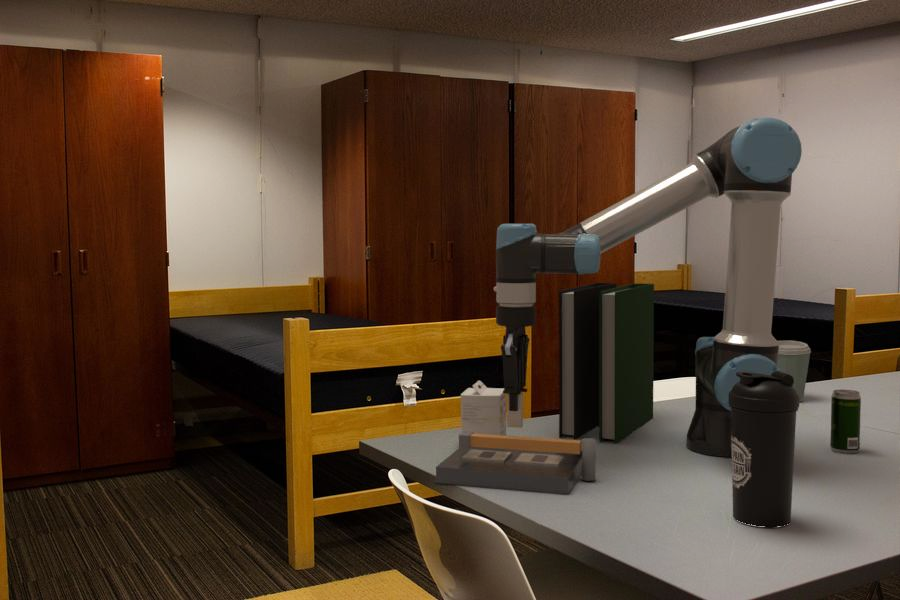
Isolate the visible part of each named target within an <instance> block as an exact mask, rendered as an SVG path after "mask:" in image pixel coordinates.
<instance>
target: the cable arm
mask: <svg viewBox="0 0 900 600" xmlns="http://www.w3.org/2000/svg"><path fill="white" fill-rule="evenodd" d="M470 447H484V448H498V449H512V450H527V451H541V452H556V453H570V454H580V453H581V451H582V473H581V480H582V481H587V482H591V481H595V480H596V439H595V438H593V437H584V438H582V439H581V440H578V439H576V440H574V439H563V438H548V437H531V436H517V435H516V436H515V435H506V436H503V435H488V434H474V432H469V431H463V432H462V433H460V434H458V449H459V448H470Z"/></svg>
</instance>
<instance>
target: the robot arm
mask: <svg viewBox="0 0 900 600" xmlns="http://www.w3.org/2000/svg"><path fill="white" fill-rule="evenodd" d="M801 158H802V142H801V140H800V136H799V135H798V133H797V132H796V130H794V128H793V127H792V126H791V125H790V124H789V123H787V122H785V121H783V120H782V119H779V118H774V117H761V118H758V117H757V118H752V119H750V120H748V121H746V122H744V123H743V124H742V125H739V126H736V127H734V128H732V129H730V131H728V132H727V133H726V134H724V135H723V136H722V137H720V138H719V139H718V140H716V141H715V142H713V143H712V144H711V145H709V146H707V148H704V149H703V150H701V151H700V152H698V153H696V154H694V155H693V156H692V159H691V161H690V163H688V164H686V165H684V166H683V167H681V168H679V169H677V170H675V171H672V172H671V173H670V174H668V175H666V176H664V177H662V178H660V179H658V180H657V181H655V182H653V183H651V184H650V185H647V186H646V187H644V188H641V189H640V190H638V191H637V192H634V193H633V194H631V195H629V196H627V197H625V198H624V199H622V200H620V201H618V202H616V203H614V204H612V205H610V206H609V207H607V208H605V209H603V210H601V211H600V212H598V213H596V214H594V215H592V216H590V217H588V218H586V219H585V220H583V221H581V222H579V223H577V224H576V225H574V226H572V227H570V228H568V229H566V230H564V231H562V232H559V233H548V234H547V233H538V231H537V226H536V224H534V223H502V224H500V225H499V226H498V227H497V230H496V243H495V244H496V247H495V265H496V266H495V269H496V270H495V271H496V272H495V274H496V284H495V285H496V286H494V287H493V291H494V292H496V295H495V297H496V301H495V302H497V303H498V304H499V305H497V306H496V307H495V323H496V324H497V326H500V327H505V334H504V335H503V337H502V339H503V340H502V341H503V343H502V344H501V345H500V352H501V355H502V369H503V370H502V372H503V374H502V375H503V386H504V387H503V388H504V391H503V393H504V394H507V395H506V398H507V399H506V428H515V429H516V428H517V429H522V427H523V426H524V424H523V423H524V418H523V417H524V415H523V414H524V393H528V388H525V387H526V385H527V367H528V353H529V350H528V349H529V345H530V338H529V336H528V334H526V333H527V332H526V331H527V330H526V328H527V327H532V326H535V324H536V312H537V311H536V306H534V304H536V302H537V284H536V283H537V281H536V280H537V279H536V277H537V274H541V275H542V274H562V275H565V274H566V275H567V274H568V275H570V274H572V275H573V274H574V275H575V274H576V275H580V276H582V275H585V274H589V275H590V274H597V273H598V272H599V270H600V267H601V254H602V253H604V252H607V251H608V250H610V249H612V248H614V247H616V246H618V245H619V244H622V243H623V242H625V241H627V240H630V239H631V238H634V237H635V236H637V235H639V234H641V233H643V232H645V231H646V230H648V229H650V228H652V227H654V226H656V225H657V224H660V223H661V222H663V221H665V220H667V219H669V218H671V217H672V216H674V215H676V214H678V213H680V212H682V211H684V210H685V209H688V208H690V207H692V206H694V205H695V204H697V203H699V202H701V201H703V200H704V199H707V198H709V197H711V198H715V199H716V198H719V197H721V196H723V195H725V196H726V197H727V198H728V199H729V200H730V202H731V206H730V207H731V209H730V221H729V222H730V223H729V235H728V237H729V239H728V250H727V251H728V253H727V262H726V263H727V265H726V277H725V278H726V279H725V292H724V293H725V294H724V307H723V320H722V329H721V331H720V332H719V333H717V334H716V335H715V336H702V337H699V338H698V339H697V341H696V346H695V350H694V354H695V408H694V409H695V410H694V412H693V416H692V418H691V421H690V424H689V426H688V430H687V432H686V438H685V439H686V440H685V443H686V444H685V445H686V447H687V448H688V449H689V450H691V451H693V452H696V453H699V454H703V455H709V456H717V457H727V458H729V457H731V458H732V452H731V451H732V450H731V436H732V432H731V407H730V406H729V392H730V391H731V390H732V388H733V386H734V385H735V384H736V383H737V382H739V381H740V377H738V376H736V373H737V372H752V373H759V374H765V375H771V374H772V373H773V372H774V371H781V370H780V369H779V367H778V365H777V364H778V350H779V342H778V341H779V340H777V339H776V338H775V337H774V336H773V334H772V325H773V315H774V314H773V313H774V312H773V311H774V310H773V309H774V298H775V287H776V286H775V284H776V271H777V260H778V259H777V258H778V248H779V247H778V246H779V245H778V244H779V233H780V219H781V205H782V203H783V202H784V201H785V200H787V198H788V197H790V196H791V193H792V178H793V174H794V173H795V171H796V169H797V168H798V166H799V163H800V162H801Z"/></svg>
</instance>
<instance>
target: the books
mask: <svg viewBox="0 0 900 600" xmlns="http://www.w3.org/2000/svg"><path fill="white" fill-rule="evenodd" d="M617 285H618V284H617V283H616V282H593V283H588V284H585V285H579V286H576V287H570V288H566V289H561V290H558V412H559V413H558V415H559V416H558V424H559V425H558V428H559V429H558V431H559V432H558V433H559V434H558V435H559V436H558V439H563V438H564V436H566V435H570V436H573V440H578V439H579V438H580V437H582V436H584V435H585V434H587V433H589V432H591V431H592V430H594V429H596V428H597V427H598V428H599V429H598V442H599V443H602V442H604V440H606V439H608V440H614V445H617V444H618V443H620V442H621V441H623V440H624V439H626V438H627V437H629V436H630V435H631V434H633V433H634V432H636V431H637V430H638V429H640V428H642V427H644V425H645V424H648V423H649V422H650V421H652V420H653V419H654V364H655V363H654V361H655V360H654V352H655V351H654V350H655V349H654V347H655V345H654V344H655V343H654V342H655V340H654V339H655V337H654V336H655V335H654V333H655V326H654V325H655V320H654V319H655V284H654V283H635V282H634V283H628V284H625V285H621V286H617ZM625 437H626V438H625Z"/></svg>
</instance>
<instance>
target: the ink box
mask: <svg viewBox="0 0 900 600" xmlns="http://www.w3.org/2000/svg"><path fill="white" fill-rule="evenodd" d="M503 391H504V387H503V388H502V387H501V388H496V387H495V388H494V387H487V386H486V385H485V383H483V382H482V381H481V380H476V382H475V383H474V384H472V387H468V388H466V389H465V390H464V391H463V392H461V393H460V414H461V415H460V418H461V420H460V422H461V425H460V426H461V429H460V431H461V433H462V432H463V431H469V432H474V434H488V435H503V436H507V399H506V398H507V395H506V394H504V393H503ZM461 433H460V434H461Z"/></svg>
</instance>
